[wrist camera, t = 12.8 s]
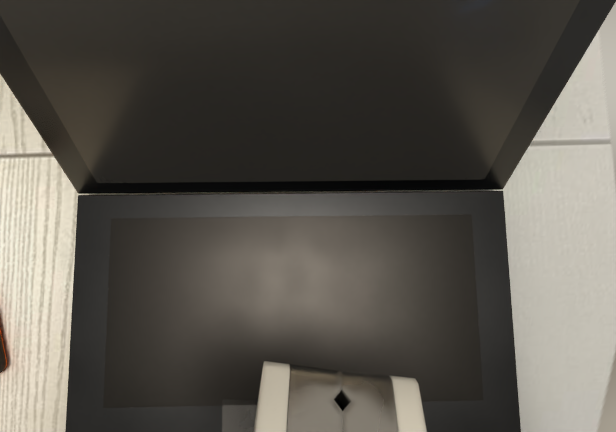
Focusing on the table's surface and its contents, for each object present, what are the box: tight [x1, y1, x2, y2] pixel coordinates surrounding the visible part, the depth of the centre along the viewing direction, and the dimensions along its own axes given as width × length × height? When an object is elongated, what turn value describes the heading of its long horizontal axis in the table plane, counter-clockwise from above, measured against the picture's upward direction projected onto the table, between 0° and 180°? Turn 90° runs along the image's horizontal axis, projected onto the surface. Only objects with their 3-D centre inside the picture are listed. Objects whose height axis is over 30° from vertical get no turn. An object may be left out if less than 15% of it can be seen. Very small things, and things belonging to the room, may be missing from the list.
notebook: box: [66, 191, 521, 432], centre depth 37 cm, size 21×30×2 cm
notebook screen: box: [0, 0, 616, 194], centre depth 29 cm, size 21×30×1 cm
